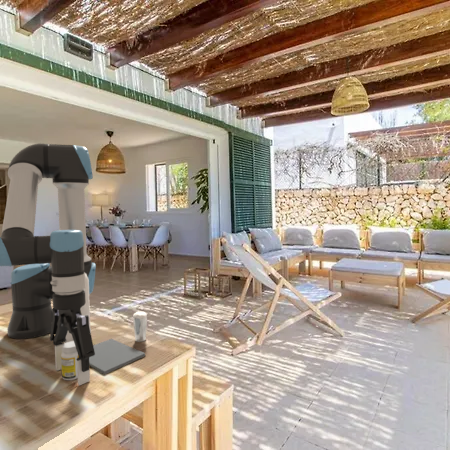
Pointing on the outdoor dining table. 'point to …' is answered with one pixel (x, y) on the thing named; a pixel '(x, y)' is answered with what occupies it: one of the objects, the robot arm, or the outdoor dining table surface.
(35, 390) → the outdoor dining table surface
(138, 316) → the milkshake
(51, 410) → the outdoor dining table surface
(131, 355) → the slate mat
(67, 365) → the supplement bottle
